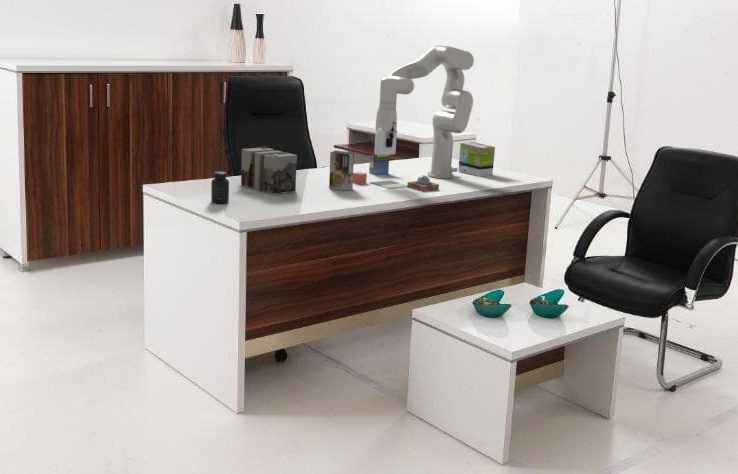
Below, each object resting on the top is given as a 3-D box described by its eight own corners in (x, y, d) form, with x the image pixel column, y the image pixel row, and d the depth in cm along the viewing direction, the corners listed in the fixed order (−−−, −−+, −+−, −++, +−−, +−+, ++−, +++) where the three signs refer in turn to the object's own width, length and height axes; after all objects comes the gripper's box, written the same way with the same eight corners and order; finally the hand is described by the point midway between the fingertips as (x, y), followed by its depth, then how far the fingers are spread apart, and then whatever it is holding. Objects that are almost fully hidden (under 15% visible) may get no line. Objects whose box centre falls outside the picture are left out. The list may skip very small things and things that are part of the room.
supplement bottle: (211, 200, 359) (212, 170, 356) (229, 201, 359) (229, 171, 356) (210, 204, 352) (210, 173, 349) (228, 204, 353) (228, 174, 350)
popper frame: (423, 185, 414) (423, 180, 414) (438, 189, 407) (439, 184, 406) (407, 187, 408) (407, 182, 407) (422, 191, 400) (422, 186, 400)
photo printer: (391, 153, 416) (393, 126, 413) (396, 154, 412) (398, 127, 409) (372, 154, 410) (374, 126, 407) (377, 155, 407) (379, 128, 404)
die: (358, 181, 415) (358, 171, 414) (366, 183, 412) (366, 173, 411) (352, 182, 411) (352, 172, 410) (360, 184, 409) (360, 174, 408)
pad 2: (399, 184, 414) (400, 183, 414) (409, 186, 410) (409, 185, 410) (379, 186, 407) (379, 185, 407) (389, 188, 402) (389, 187, 402)
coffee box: (353, 188, 398) (355, 152, 394) (347, 191, 392) (349, 154, 388) (333, 186, 401) (335, 149, 397) (328, 188, 395) (330, 151, 391)
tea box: (457, 171, 455) (459, 142, 452) (471, 170, 462) (473, 141, 458) (479, 177, 444) (482, 147, 441) (493, 175, 451) (495, 146, 447)
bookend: (264, 181, 402) (265, 145, 398) (300, 192, 385) (301, 154, 381) (235, 184, 392) (236, 147, 388) (270, 195, 374) (271, 156, 370)
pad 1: (389, 181, 420) (390, 180, 420) (399, 183, 415) (399, 182, 415) (369, 183, 412) (370, 182, 412) (379, 185, 407) (379, 185, 407)
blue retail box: (384, 172, 442) (385, 147, 439) (388, 173, 439) (390, 148, 436) (368, 173, 437) (370, 147, 434) (372, 174, 434) (374, 149, 431)
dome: (423, 185, 411) (424, 174, 410) (431, 187, 407) (432, 176, 405) (414, 186, 407) (415, 174, 406) (422, 188, 403) (423, 177, 402)
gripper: (369, 103, 410) (367, 143, 415) (393, 108, 397) (390, 149, 402) (382, 103, 414) (380, 142, 419) (406, 107, 402) (403, 148, 406)
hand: (385, 145), depth 410 cm, fingers closed on photo printer, 4 cm apart
